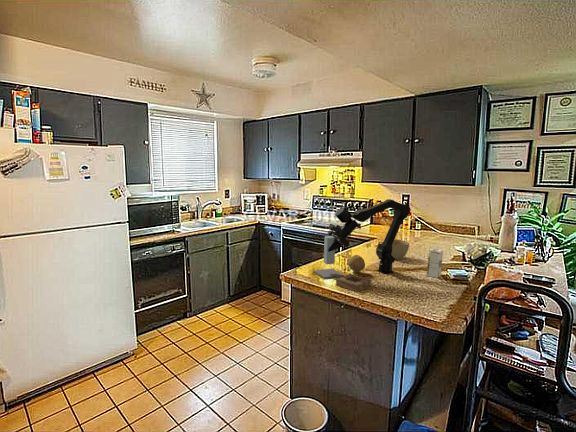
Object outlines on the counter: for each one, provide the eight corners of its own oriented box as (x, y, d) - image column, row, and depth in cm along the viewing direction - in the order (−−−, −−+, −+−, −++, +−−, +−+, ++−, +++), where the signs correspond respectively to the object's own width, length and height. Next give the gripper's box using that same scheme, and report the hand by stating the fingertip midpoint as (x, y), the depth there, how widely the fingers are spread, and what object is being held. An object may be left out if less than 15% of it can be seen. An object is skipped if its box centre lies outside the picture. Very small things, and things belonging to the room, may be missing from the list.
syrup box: (429, 273, 180) (431, 248, 178) (441, 276, 177) (443, 249, 175) (426, 276, 176) (428, 249, 174) (438, 278, 172) (440, 251, 170)
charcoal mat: (332, 270, 183) (332, 268, 182) (344, 276, 172) (344, 274, 172) (313, 272, 178) (313, 270, 178) (324, 279, 167) (324, 277, 167)
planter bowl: (398, 262, 201) (399, 245, 200) (377, 256, 214) (378, 240, 213) (413, 259, 211) (414, 242, 209) (392, 253, 224) (393, 238, 222)
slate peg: (331, 261, 177) (332, 236, 175) (334, 263, 172) (335, 237, 170) (323, 261, 176) (324, 236, 174) (326, 264, 171) (327, 238, 169)
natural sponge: (343, 272, 180) (344, 254, 178) (354, 269, 186) (355, 252, 184) (357, 276, 173) (358, 257, 172) (367, 273, 179) (368, 255, 177)
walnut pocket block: (349, 279, 167) (350, 274, 167) (370, 285, 159) (371, 279, 158) (336, 285, 158) (336, 279, 158) (357, 291, 150) (357, 285, 150)
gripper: (331, 216, 181) (311, 236, 180) (344, 221, 163) (322, 243, 162) (344, 229, 183) (324, 249, 182) (358, 236, 165) (337, 258, 164)
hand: (326, 249), depth 173 cm, fingers closed on slate peg, 4 cm apart
